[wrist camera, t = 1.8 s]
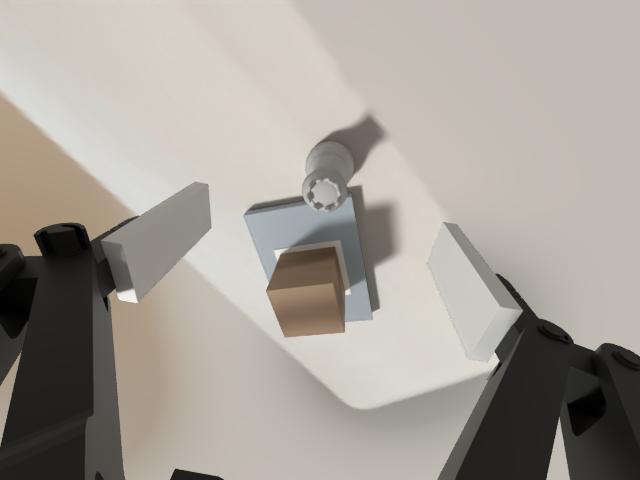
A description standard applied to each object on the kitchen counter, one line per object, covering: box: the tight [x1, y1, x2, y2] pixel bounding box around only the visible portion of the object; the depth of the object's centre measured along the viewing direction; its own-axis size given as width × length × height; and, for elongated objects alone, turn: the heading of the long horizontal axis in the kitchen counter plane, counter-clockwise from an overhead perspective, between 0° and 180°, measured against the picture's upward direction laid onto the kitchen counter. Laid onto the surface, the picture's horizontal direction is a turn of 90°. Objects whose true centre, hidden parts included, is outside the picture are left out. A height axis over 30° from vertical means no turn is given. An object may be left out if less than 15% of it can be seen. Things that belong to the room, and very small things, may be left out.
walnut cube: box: [266, 246, 345, 337], centre depth 28 cm, size 6×6×6 cm
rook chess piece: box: [302, 141, 354, 213], centre depth 22 cm, size 4×4×8 cm
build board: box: [243, 193, 373, 322], centre depth 31 cm, size 16×11×1 cm
